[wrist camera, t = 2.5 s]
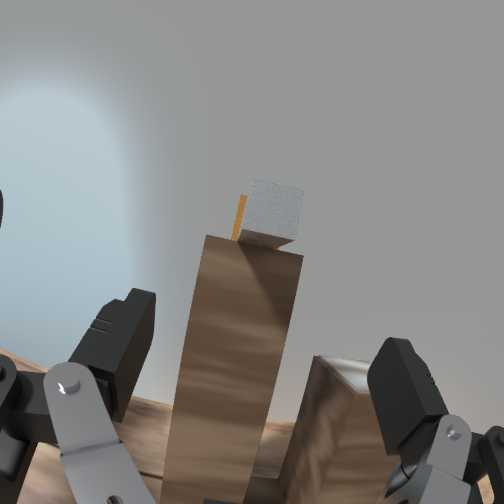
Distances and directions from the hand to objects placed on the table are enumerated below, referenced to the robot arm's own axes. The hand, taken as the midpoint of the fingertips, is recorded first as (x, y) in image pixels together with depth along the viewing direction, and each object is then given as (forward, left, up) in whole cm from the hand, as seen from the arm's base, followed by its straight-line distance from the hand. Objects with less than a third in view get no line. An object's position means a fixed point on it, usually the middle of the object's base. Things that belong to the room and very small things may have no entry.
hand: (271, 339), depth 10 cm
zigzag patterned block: (-10, +20, -28) cm, 36 cm away
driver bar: (-12, +11, +4) cm, 17 cm away
